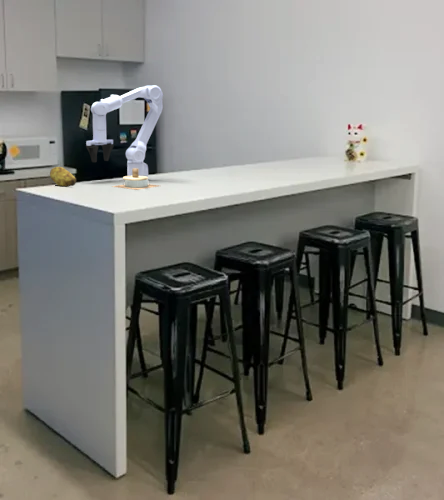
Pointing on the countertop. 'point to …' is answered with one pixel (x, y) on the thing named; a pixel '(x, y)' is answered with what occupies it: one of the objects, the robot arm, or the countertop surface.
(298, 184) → the countertop surface
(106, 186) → the countertop surface
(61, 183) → the potato
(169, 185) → the countertop surface
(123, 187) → the board
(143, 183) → the bowl
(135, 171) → the lid
